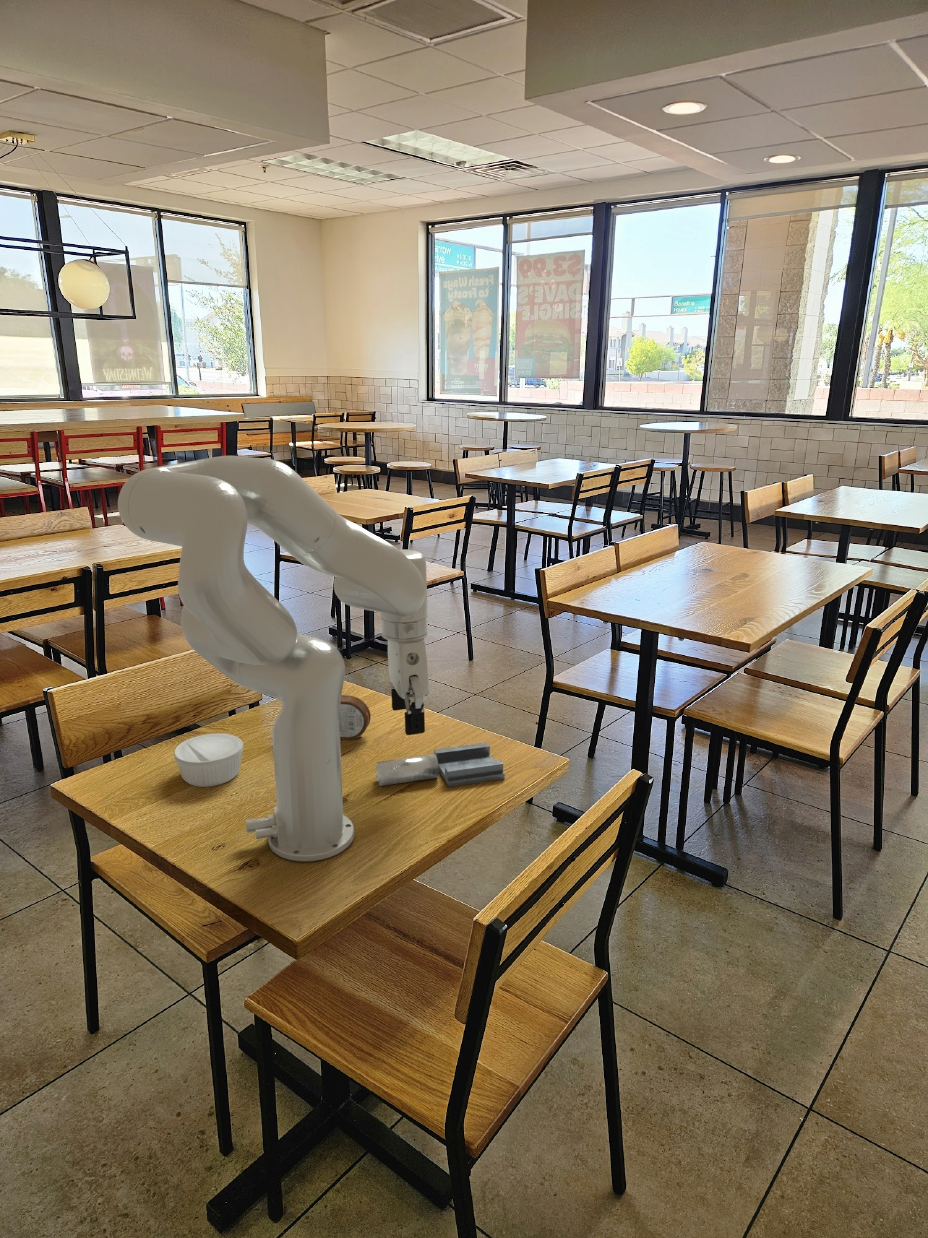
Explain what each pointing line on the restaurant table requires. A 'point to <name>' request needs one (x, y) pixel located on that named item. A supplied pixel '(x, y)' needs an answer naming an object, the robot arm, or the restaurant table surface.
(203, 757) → the ramekin
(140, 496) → the robot arm
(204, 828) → the restaurant table surface
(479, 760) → the v block
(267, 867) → the restaurant table surface
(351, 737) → the tin
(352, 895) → the restaurant table surface
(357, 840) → the restaurant table surface
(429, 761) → the clear cylinder
